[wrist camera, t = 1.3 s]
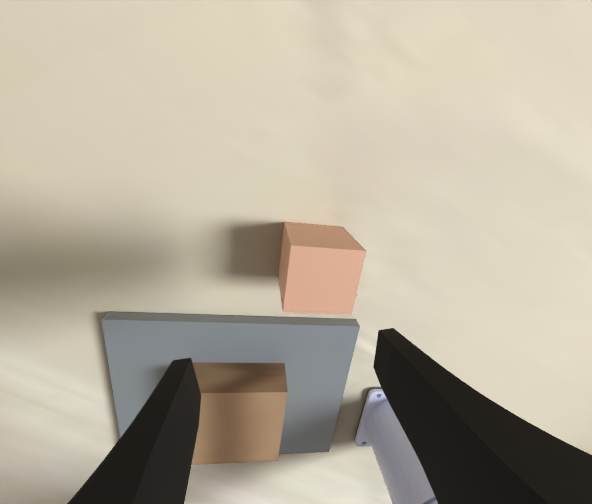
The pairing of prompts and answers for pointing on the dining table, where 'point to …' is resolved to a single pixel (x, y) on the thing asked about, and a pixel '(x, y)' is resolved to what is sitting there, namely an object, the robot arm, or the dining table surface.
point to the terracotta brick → (319, 269)
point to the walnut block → (240, 412)
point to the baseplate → (237, 349)
